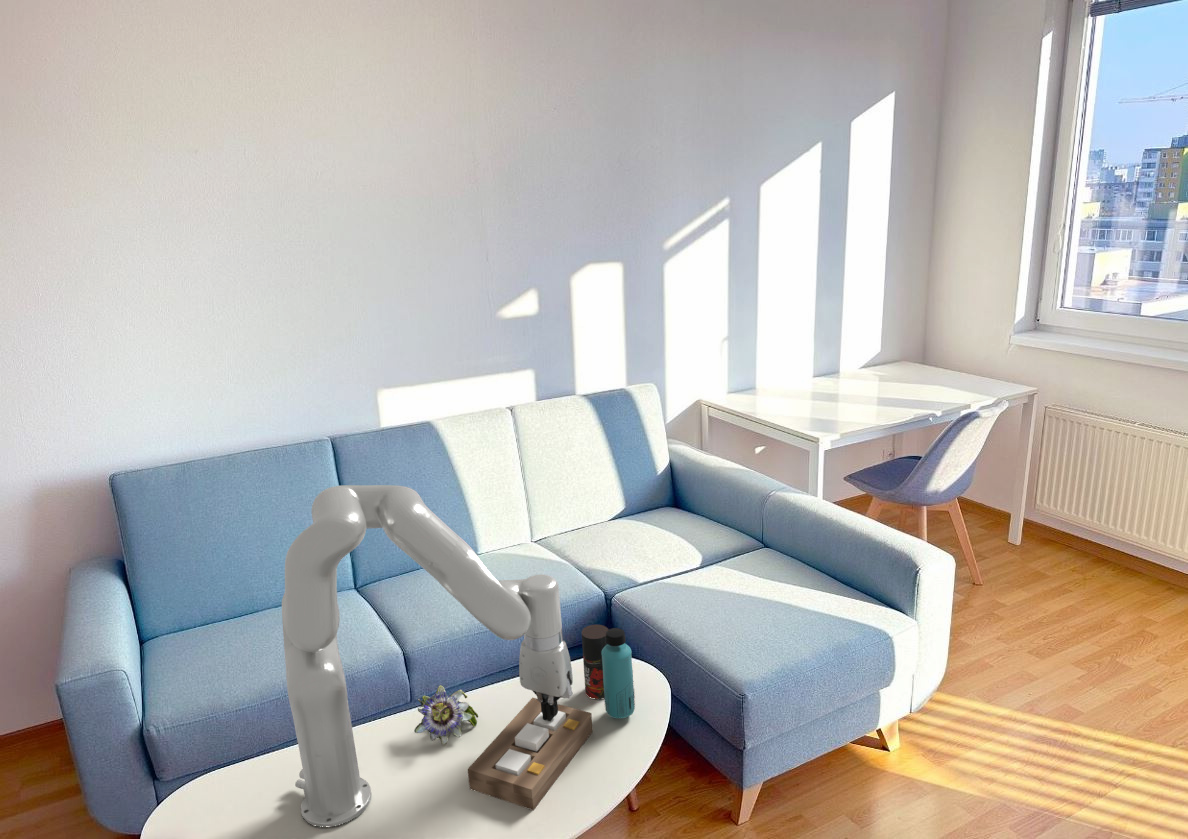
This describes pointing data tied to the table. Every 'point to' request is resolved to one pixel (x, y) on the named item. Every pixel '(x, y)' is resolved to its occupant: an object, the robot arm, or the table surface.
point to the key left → (513, 762)
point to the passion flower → (444, 714)
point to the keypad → (543, 762)
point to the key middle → (531, 737)
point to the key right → (551, 724)
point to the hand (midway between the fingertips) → (550, 716)
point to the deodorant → (593, 659)
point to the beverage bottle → (617, 675)
